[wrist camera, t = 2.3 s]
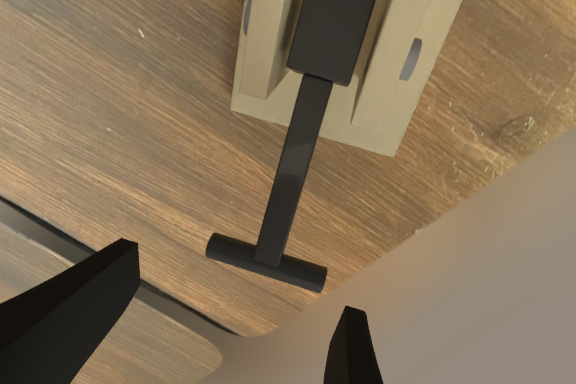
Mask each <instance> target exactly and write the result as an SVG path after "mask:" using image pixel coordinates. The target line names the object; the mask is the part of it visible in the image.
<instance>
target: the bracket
mask: <svg viewBox="0 0 576 384" xmlns="http://www.w3.org/2000/svg"><path fill="white" fill-rule="evenodd" d="M302 2H303V0H244V6H243V14H242V22H241V29H240V37H239V44H238V52H237V59H236V67H235V75H234V82H233V90H232V97H231V105H230V110H232V111H236V112H239V113H243V114H246V115H249V116H253V117H256V118H260V119H263V120H266V121H270V122H273V123H277V124H280V125H283V126H287V127H289V124H290V121H291V117H292V113H293V110H294V106H295V102H296V99H297V95H298V91H299V88H300V84H301V80H302V77H303V75H302V74H299V73H295V72H294V71H292V70H291V69H289V68H287V67H286V64H287V60H288V56H289V52H290V48H291V45H292V41H293V37H294V33H295V29H296V25H297V21H298V18H299V14H300V10H301V6H302ZM461 2H462V0H376V1H375V4H374V8H373V11H372V14H371V17H370V20H369V24H368V27H367V30H366V33H365V37H364V40H363V43H362V46H361V50H360V53H359V56H358V59H357V62H356V66H355V69H354V72H353V75H352V79H351V82H350V84H349V86H348V87H344V86H341V85H337V84H334V83H333V88H332V91H331V95H330V98H329V101H328V105H327V108H326V111H325V115H324V118H323V121H322V125H321V128H320V132H319V135H318V136H321V137H324V138H328V139H331V140H334V141H338V142H341V143H345V144H348V145H351V146H355V147H358V148H362V149H365V150H368V151H372V152H375V153H379V154H382V155H385V156H389V157H392V158H394V156H395V154H396V152H397V150H398V147H399V145H400V143H401V140H402V138H403V136H404V133H405V131H406V129H407V126H408V124H409V122H410V120H411V117H412V115H413V113H414V110H415V108H416V106H417V103H418V101H419V99H420V96H421V94H422V92H423V90H424V87H425V85H426V83H427V80H428V78H429V76H430V73H431V71H432V69H433V66H434V64H435V62H436V59H437V57H438V55H439V53H440V50H441V48H442V46H443V43H444V41H445V39H446V36H447V34H448V32H449V29H450V27H451V25H452V23H453V20H454V18H455V16H456V13H457V11H458V9H459V6H460V4H461Z"/></svg>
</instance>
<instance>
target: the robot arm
mask: <svg viewBox="0 0 576 384" xmlns="http://www.w3.org/2000/svg"><path fill="white" fill-rule="evenodd" d="M139 286H140V269H139V252H138V243H136V242H133V241H129V240H126V239H123V238H121V239H119V240H117V241H115V242H114V243H112V244H110V245H108V246H107V247H105V248H103V249H102V250H100V251H98V252H96V253H95V254H93V255H91V256H90V257H88V258H86V259H85V260H83V261H81V262H79V263H78V264H76V265H74V266H72V267H71V268H69V269H67V270H65V271H63V272H62V273H60V274H58V275H56V276H55V277H53V278H51V279H49V280H47V281H45V282H43V283H41V284H39V285H37V286H35V287H34V288H32V289H30V290H28V291H26V292H24V293H22V294H20V295H18V296H16V297H14V298H12V299H9V300H7V301H5V302H3V303H1V304H0V384H70V383H71V381H72V380H73V379H74V377H75V376H76V374H77V373H78V372H79V370H80V369H81V368H82V366H83V365H84V364H85V362H86V361H87V360H88V358H89V357H90V356H91V355H92V353H93V352H94V351H95V349H96V348H97V347H98V345H99V344H100V343H101V342H102V340H103V339H104V338H105V336H106V335H107V334H108V332H109V331H110V330H111V328H112V327H113V326H114V325H115V323H116V322H117V321H118V319H119V318H120V317H121V315H122V314H123V313H124V311H125V310H126V308H127V306H128V305H129V303H130V301H131V300H132V298H133V296H134V295H135V293H136V291H137V289H138V288H139ZM324 384H383V380H382V377H381V374H380V370H379V367H378V364H377V360H376V356H375V352H374V349H373V345H372V340H371V336H370V331H369V327H368V321H367V315H366V313H365V312H364V311H362V310H359V309H356V308H352V307H349V306H345V308H344V311H343V313H342V315H341V318H340V320H339V323H338V325H337V327H336V330H335V332H334V334H333V337H332V339H331V341H330V345H329V351H328V356H327V362H326V367H325V373H324Z"/></svg>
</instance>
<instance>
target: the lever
mask: <svg viewBox="0 0 576 384" xmlns="http://www.w3.org/2000/svg"><path fill="white" fill-rule="evenodd" d="M375 1H376V0H303V2H302V6H301V10H300V14H299V18H298V21H297V25H296V29H295V33H294V37H293V41H292V45H291V48H290V52H289V56H288V60H287V64H286V67H287V68H289V69H291V70H292V71H294V72H295V73H299V74H302V75H303V77H302V80H301V84H300V88H299V91H298V95H297V99H296V102H295V106H294V110H293V113H292V117H291V121H290V124H289V128H288V132H287V135H286V139H285V143H284V146H283V150H282V154H281V157H280V161H279V164H278V168H277V172H276V175H275V179H274V183H273V186H272V190H271V194H270V197H269V201H268V205H267V208H266V212H265V216H264V219H263V223H262V227H261V230H260V234H259V238H258V241H257V245H254V244H250V243H247V242H244V241H241V240H238V239H235V238H231V237H228V236H225V235H222V234H219V233H213V234H212V236H211V237H210V239H209V241H208V244H207V247H206V257H208V258H211V259H214V260H217V261H220V262H223V263H226V264H230V265H233V266H236V267H239V268H242V269H245V270H248V271H251V272H254V273H258V274H261V275H264V276H267V277H270V278H273V279H276V280H279V281H282V282H286V283H289V284H292V285H295V286H298V287H301V288H304V289H307V290H310V291H314V292H317V293H321V291H322V289H323V287H324V284H325V280H326V276H327V268H326V267H323V266H320V265H317V264H314V263H310V262H307V261H304V260H301V259H298V258H295V257H291V256H288V255H285V254H283V252H284V249H285V246H286V242H287V239H288V236H289V232H290V229H291V226H292V222H293V219H294V216H295V212H296V209H297V205H298V202H299V199H300V195H301V192H302V189H303V185H304V182H305V179H306V175H307V172H308V169H309V165H310V162H311V158H312V155H313V152H314V148H315V145H316V142H317V138H318V135H319V132H320V128H321V125H322V121H323V118H324V115H325V111H326V108H327V105H328V101H329V98H330V95H331V91H332V88H333V83H334V84H337V85H341V86H344V87H348V86H349V84H350V82H351V79H352V75H353V72H354V69H355V66H356V62H357V59H358V56H359V53H360V50H361V46H362V43H363V40H364V37H365V33H366V30H367V27H368V24H369V20H370V17H371V14H372V11H373V8H374V4H375Z"/></svg>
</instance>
